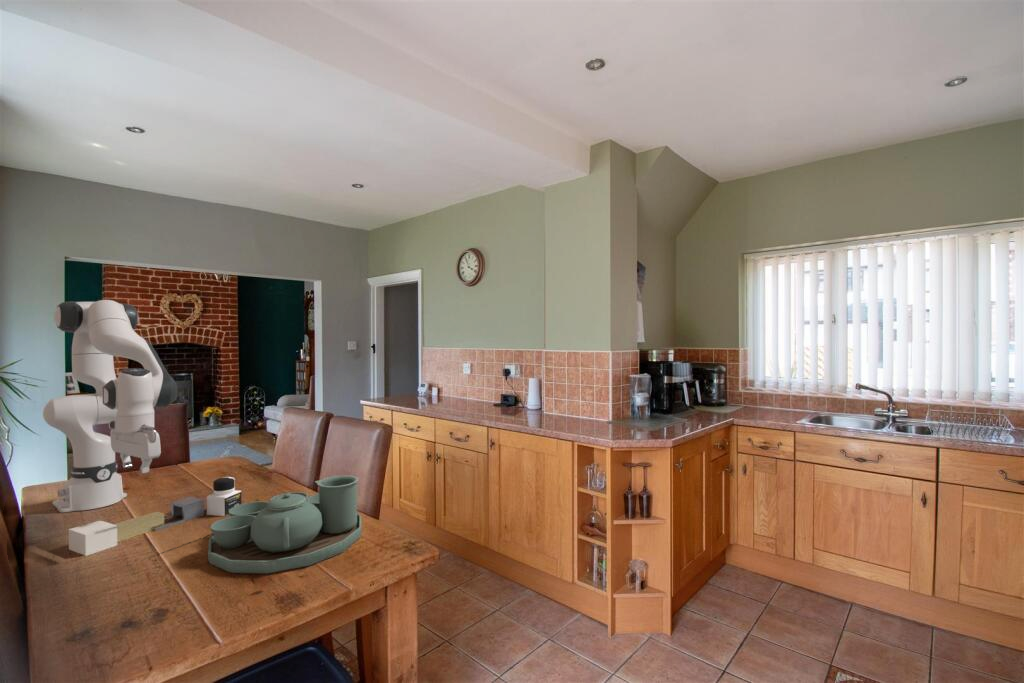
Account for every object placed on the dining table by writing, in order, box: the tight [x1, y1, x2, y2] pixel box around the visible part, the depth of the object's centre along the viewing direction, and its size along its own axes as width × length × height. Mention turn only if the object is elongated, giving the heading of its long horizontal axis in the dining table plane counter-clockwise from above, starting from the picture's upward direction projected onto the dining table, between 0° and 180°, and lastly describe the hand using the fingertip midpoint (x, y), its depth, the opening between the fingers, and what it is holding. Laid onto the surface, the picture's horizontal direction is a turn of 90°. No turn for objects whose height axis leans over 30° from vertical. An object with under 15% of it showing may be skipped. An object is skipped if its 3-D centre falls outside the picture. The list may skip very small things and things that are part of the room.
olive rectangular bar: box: [113, 511, 165, 543], centre depth 136 cm, size 4×16×4 cm, turn 154°
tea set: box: [207, 474, 363, 575], centre depth 135 cm, size 40×40×16 cm
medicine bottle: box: [206, 476, 242, 517], centre depth 155 cm, size 7×7×12 cm
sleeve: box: [153, 496, 205, 532], centre depth 147 cm, size 8×14×6 cm, turn 154°
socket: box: [68, 519, 118, 557], centre depth 129 cm, size 9×7×6 cm
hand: (135, 469), depth 140 cm, fingers open, 8 cm apart
